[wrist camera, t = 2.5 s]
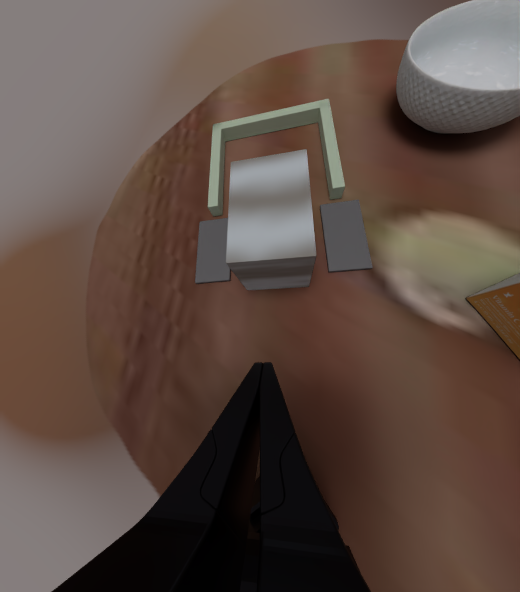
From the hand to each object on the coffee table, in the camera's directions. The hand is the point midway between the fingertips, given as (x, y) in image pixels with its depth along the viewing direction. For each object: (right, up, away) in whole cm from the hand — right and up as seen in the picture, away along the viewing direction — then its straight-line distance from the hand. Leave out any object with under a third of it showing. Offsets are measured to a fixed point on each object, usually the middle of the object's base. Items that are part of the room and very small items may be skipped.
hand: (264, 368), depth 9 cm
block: (+2, +10, +17) cm, 20 cm away
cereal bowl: (+27, +30, +18) cm, 44 cm away
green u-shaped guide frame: (+2, +20, +19) cm, 28 cm away
